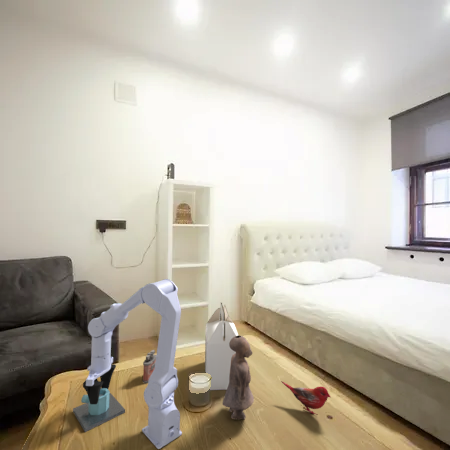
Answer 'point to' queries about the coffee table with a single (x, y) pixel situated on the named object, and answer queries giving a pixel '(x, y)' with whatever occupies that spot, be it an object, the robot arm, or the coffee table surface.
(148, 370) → the lighter
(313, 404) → the decorative bird figurine
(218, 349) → the gable box
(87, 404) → the base
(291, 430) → the coffee table surface
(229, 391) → the clay figurine
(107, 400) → the elbow collar
